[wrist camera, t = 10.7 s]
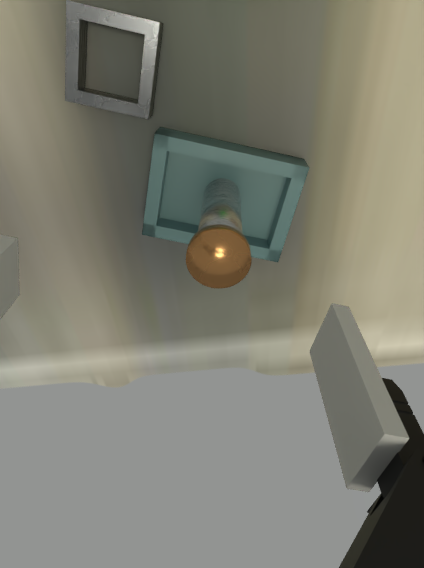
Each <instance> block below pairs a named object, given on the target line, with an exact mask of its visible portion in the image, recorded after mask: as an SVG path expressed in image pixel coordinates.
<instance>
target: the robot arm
mask: <svg viewBox="0 0 424 568" xmlns="http://www.w3.org/2000/svg"><path fill="white" fill-rule="evenodd" d="M19 295H20V290H19V259H18V238H15V237H10V236H5V235H1V234H0V319H1V318H2V316H3V315H4V314H5V313H6V311H7V310H8V309H9V308H10V306H11V305H12V304H13V303H14V301H15V300H16V299H17V298H18V296H19ZM310 355H311V358H312V362H313V366H314V369H315V373H316V377H317V381H318V384H319V388H320V392H321V395H322V399H323V402H324V406H325V410H326V413H327V417H328V421H329V425H330V429H331V432H332V435H333V440H334V443H335V447H336V450H337V454H338V458H339V462H340V465H341V469H342V473H343V477H344V480H345V484H346V488H347V489H353V490H359V491H365V492H369V491H370V490H371V489H372V488H373V486H374V485H375V484H376V482H377V481H378V484H379V487H380V490H381V494H380V496H379V497H378V498H377V499H376V501H375V502H374V503H373V505H372V506H371V507H370V508H369V510H368V511H367V512H368V513H369V514H368V516H367V518H366V520H365V521H364V523H363V525H362V527H361V529H360V531H359V532H358V534H357V536H356V538H355V539H354V541H353V543H352V545H351V547H350V549H349V551H348V552H347V554H346V556H345V558H344V559H343V561H342V563H341V565H340V567H339V568H424V434H423V432H422V430H421V428H420V426H419V424H418V422H417V420H416V418H415V416H414V415H413V412H412V410H411V408H410V406H409V405H408V402H407V400H406V398H405V396H404V394H403V392H402V390H401V389H400V388H399V387H398V386H397V385H396V384H395V383H394V382H393V381H392V380H390V379H385V378H381V376H380V373H379V371H378V369H377V367H376V365H375V363H374V360H373V358H372V356H371V354H370V352H369V350H368V347H367V345H366V343H365V341H364V339H363V336H362V334H361V332H360V330H359V328H358V326H357V323H356V321H355V319H354V317H353V315H352V313H351V310H350V308H349V307H348V306H343V305H338V304H333V303H332V304H331V306H330V308H329V310H328V313H327V315H326V317H325V319H324V321H323V323H322V325H321V328H320V330H319V332H318V334H317V336H316V338H315V341H314V343H313V345H312V347H311V349H310Z"/></svg>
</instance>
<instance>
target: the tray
mask: <svg viewBox="0 0 424 568" xmlns="http://www.w3.org/2000/svg"><path fill="white" fill-rule="evenodd" d="M308 170H309V166H308V165H307V163H306V162H305V160H304V159H302V158H298V157H293V156H289V155H284V154H280V153H275V152H271V151H266V150H262V149H257V148H253V147H248V146H244V145H239V144H235V143H230V142H226V141H221V140H217V139H212V138H208V137H203V136H199V135H194V134H190V133H185V132H181V131H177V130H172V129H168V128H163V127H160V128H159V129H158V130H157V131H156V133H155V135H154V143H153V151H152V159H151V167H150V175H149V183H148V191H147V199H146V207H145V215H144V223H143V231H142V235H147V236H152V237H156V238H161V239H166V240H171V241H176V242H181V243H186V244H189V242H190V240H191V238H192V237H193V236H194V234H195V233H197V232H198V228H199V222H200V216H201V211H202V205H203V199H204V193H205V190H206V187H207V186H208V185H209V184H210V183H211V182H212V181H214V180H216V179H220V178H225V179H229V180H231V181H233V182H234V183H235V184H236V185H237V186H238V188H239V191H240V200H241V218H242V234H243V235H244V236H245V238H246V239H247V241H248V243H249V245H250V250H251V257H255V258H260V259H265V260H270V261H274V262H278V261H279V258H280V255H281V252H282V249H283V246H284V243H285V239H286V236H287V233H288V230H289V227H290V224H291V221H292V218H293V215H294V212H295V209H296V206H297V203H298V200H299V197H300V194H301V191H302V188H303V185H304V182H305V179H306V176H307V173H308Z"/></svg>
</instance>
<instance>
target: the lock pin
mask: <svg viewBox="0 0 424 568" xmlns="http://www.w3.org/2000/svg"><path fill="white" fill-rule="evenodd" d="M186 264H187V268H188V270H189V272H190V274H191V275H192V276H193V278H194V279H195V280H197V281H198V282H199V283H201V284H203V285H205V286H208V287H211V288H227V287H230V286H233V285H235V284H237V283H239V282H240V281H241V280H242V279H243V278H244V277H245V276H246V275H247V273H248V271H249V269H250V266H251V250H250V245H249V243H248V241H247V239H246V238H245V236H244V235H243V234H242V218H241V200H240V191H239V188H238V186H237V185H236V184H235V183H234V182H233V181H231V180H229V179H225V178H220V179H216V180H214V181H212V182H211V183H210V184H209V185H208V186H207V187H206V190H205V193H204V199H203V205H202V211H201V216H200V222H199V228H198V232H197V233H195V234H194V236H193V237H192V238H191V240H190V242H189V245H188V249H187V254H186Z"/></svg>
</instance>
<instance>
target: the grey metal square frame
mask: <svg viewBox="0 0 424 568" xmlns="http://www.w3.org/2000/svg"><path fill="white" fill-rule="evenodd" d="M88 21H90V22H94V23H99V24H103V25H107V26H111V27H115V28H120V29H124V30H128V31H132V32H136V33H141V34H145V39H144V49H143V59H142V69H141V79H140V89H139V99H138V100H136V99H132V98H127V97H123V96H119V95H114V94H110V93H105V92H101V91H97V90H92V89H88V88H85V76H86V49H87V22H88ZM162 31H163V23H160V22H156V21H152V20H148V19H143V18H139V17H135V16H131V15H127V14H123V13H119V12H114V11H110V10H106V9H102V8H98V7H94V6H90V5H85V4H81V3H77V2H73V1H69V0H66V72H65V101H69V102H73V103H78V104H82V105H87V106H91V107H96V108H100V109H105V110H109V111H114V112H118V113H123V114H127V115H131V116H136V117H140V118H145V119H149V118H150V117H151V116H152V115H153V107H154V98H155V90H156V81H157V73H158V65H159V56H160V48H161V40H162Z"/></svg>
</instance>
